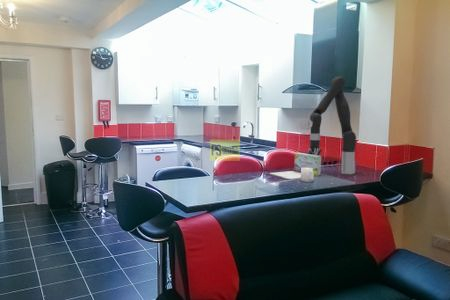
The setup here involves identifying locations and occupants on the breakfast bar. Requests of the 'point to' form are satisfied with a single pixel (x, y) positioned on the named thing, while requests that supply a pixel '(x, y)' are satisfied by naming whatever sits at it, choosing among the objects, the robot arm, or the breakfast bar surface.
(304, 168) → the mug
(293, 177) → the mat
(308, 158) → the snack box
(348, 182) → the breakfast bar surface
